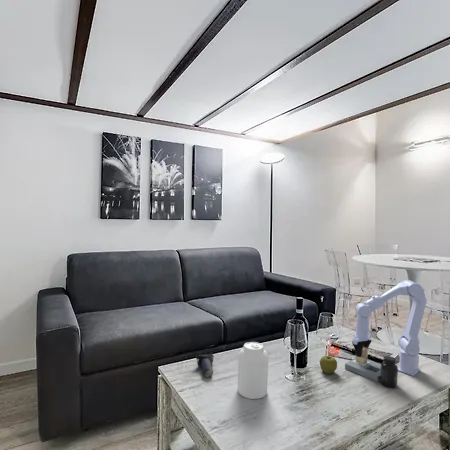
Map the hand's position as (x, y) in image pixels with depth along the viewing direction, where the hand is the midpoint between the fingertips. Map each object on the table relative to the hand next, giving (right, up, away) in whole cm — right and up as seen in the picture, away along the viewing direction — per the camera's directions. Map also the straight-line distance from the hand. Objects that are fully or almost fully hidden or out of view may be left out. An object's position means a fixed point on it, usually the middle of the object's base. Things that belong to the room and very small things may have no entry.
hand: (361, 355), depth 160 cm
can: (-56, -6, -24) cm, 62 cm away
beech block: (0, -3, 0) cm, 3 cm away
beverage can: (-77, -5, -8) cm, 77 cm away
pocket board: (+2, -6, -3) cm, 7 cm away
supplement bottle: (+5, -7, -16) cm, 18 cm away
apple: (-18, -6, -6) cm, 20 cm away
